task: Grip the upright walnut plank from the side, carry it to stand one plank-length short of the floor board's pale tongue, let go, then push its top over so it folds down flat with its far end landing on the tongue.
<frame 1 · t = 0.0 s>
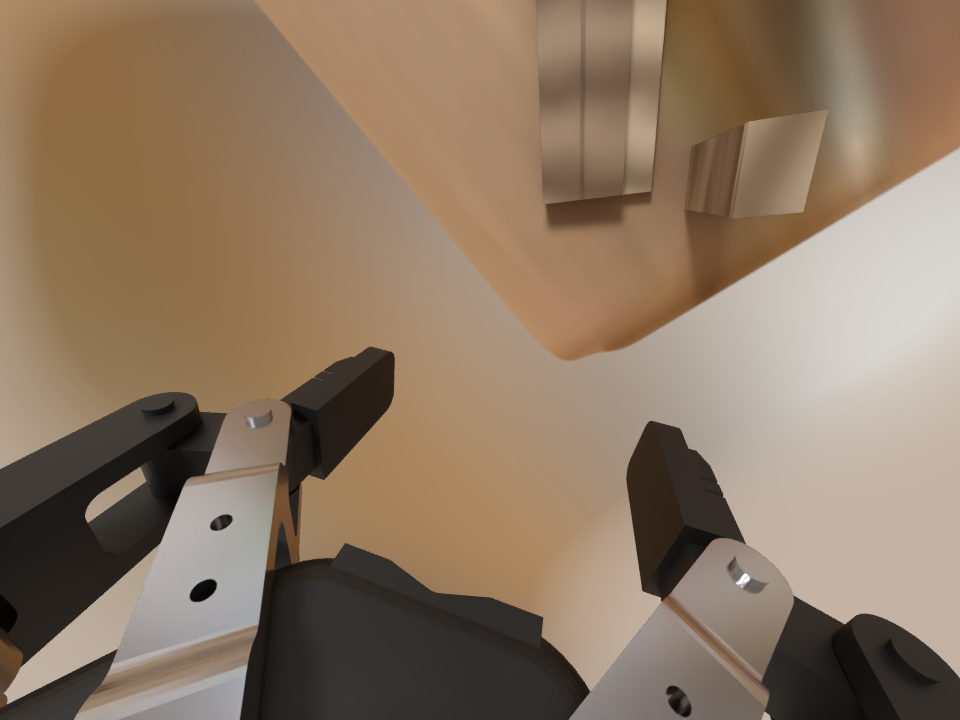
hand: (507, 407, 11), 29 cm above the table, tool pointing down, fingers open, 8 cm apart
floor board: (582, 85, 30), on the table
plank: (710, 176, 30), on the table
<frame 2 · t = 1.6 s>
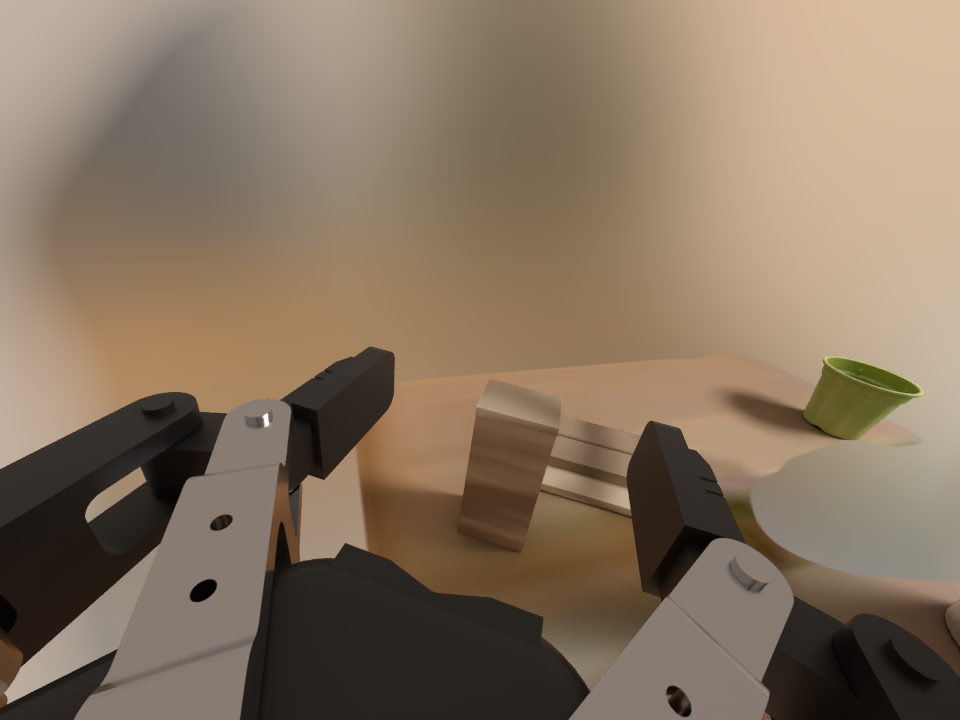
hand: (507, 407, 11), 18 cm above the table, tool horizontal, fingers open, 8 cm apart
floor board: (594, 460, 36), on the table
plant pot: (828, 427, 48), on the table
plank: (493, 522, 28), on the table
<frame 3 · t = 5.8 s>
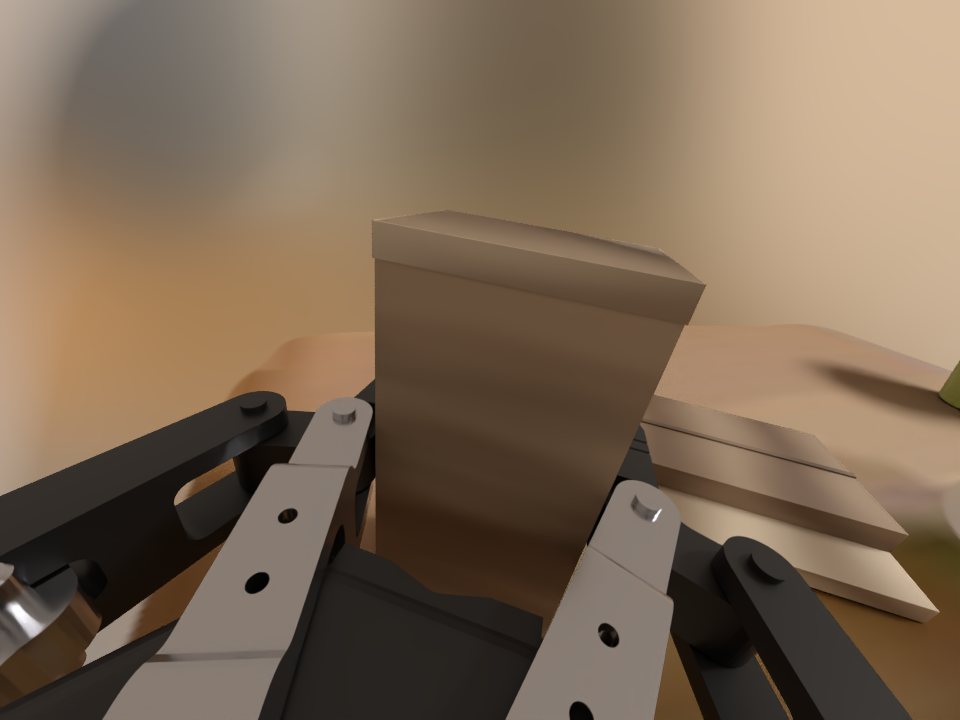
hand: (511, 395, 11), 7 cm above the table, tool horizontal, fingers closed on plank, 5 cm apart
floor board: (656, 454, 20), on the table
plank: (465, 587, 12), on the table, touching gripper
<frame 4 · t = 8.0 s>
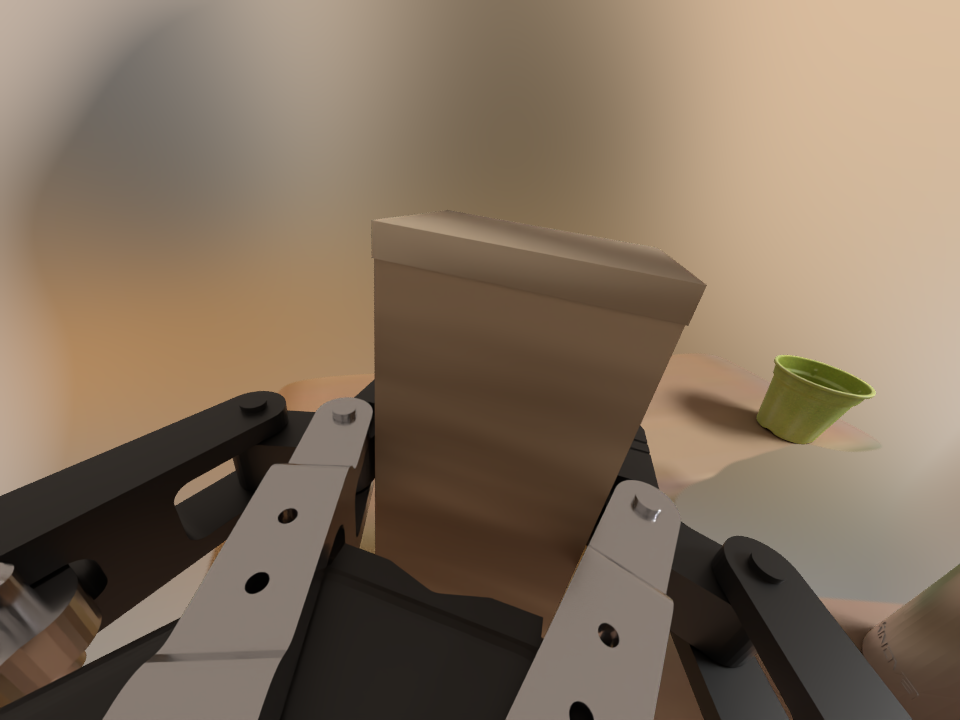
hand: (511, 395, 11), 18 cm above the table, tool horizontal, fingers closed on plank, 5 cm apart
plant pot: (781, 430, 45), on the table
plank: (465, 587, 12), point 11 cm above the table, touching gripper
when the fingers open (7 cm above the table, at t = 10.2 s): plank stays where it is, on the table.
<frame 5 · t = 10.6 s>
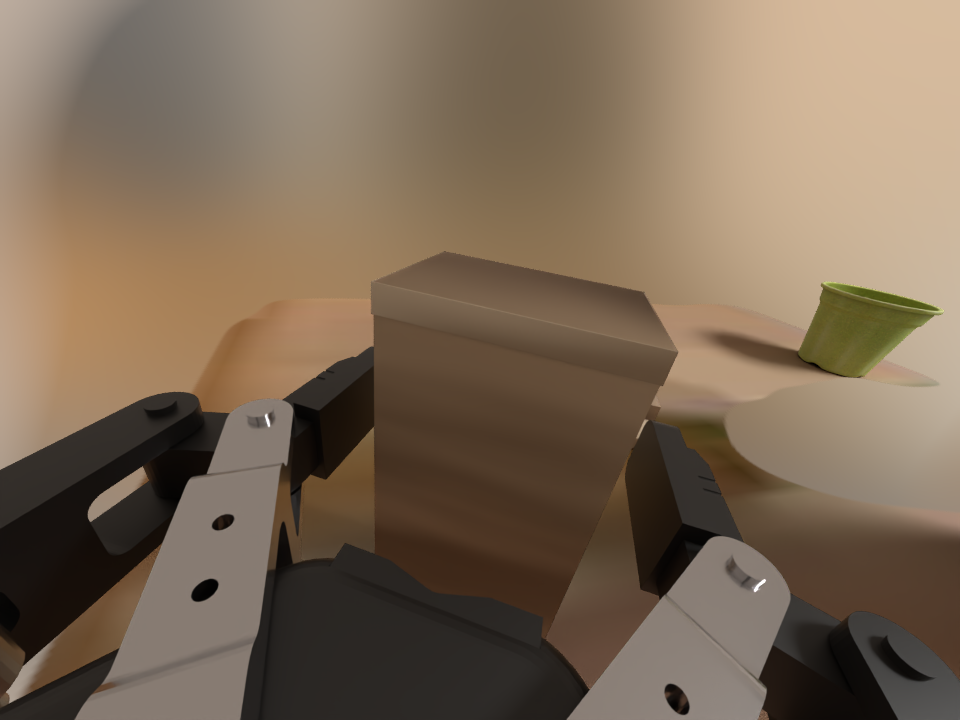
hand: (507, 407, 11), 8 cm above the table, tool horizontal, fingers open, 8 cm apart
plant pot: (827, 367, 41), on the table
plank: (462, 604, 13), on the table
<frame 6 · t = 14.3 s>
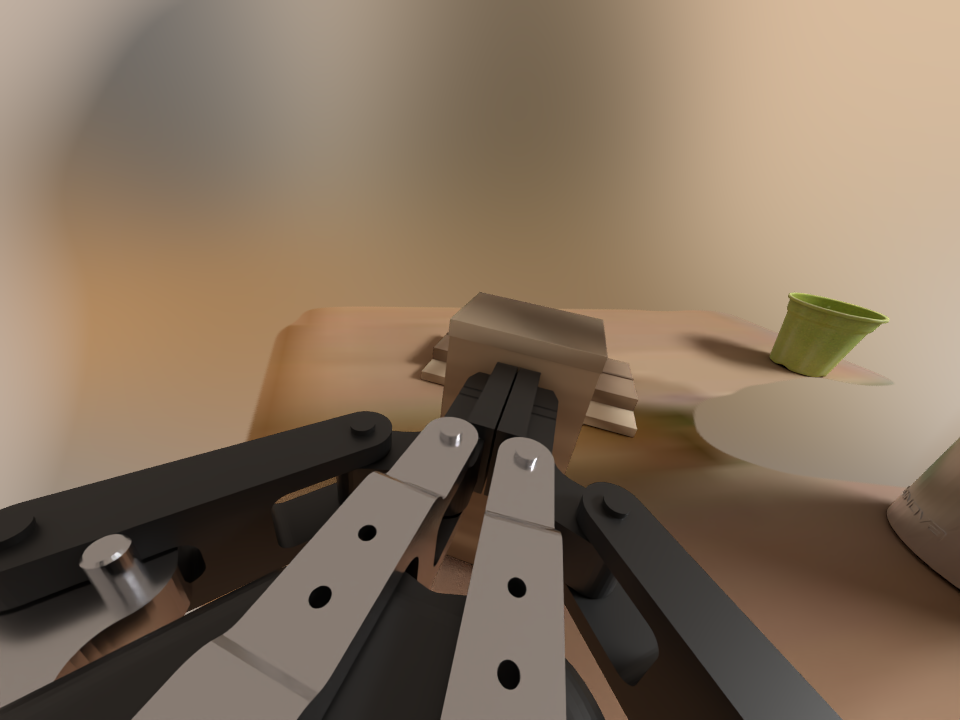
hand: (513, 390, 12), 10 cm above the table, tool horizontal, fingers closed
floor board: (531, 373, 34), on the table
plant pot: (795, 368, 46), on the table
plank: (484, 533, 18), on the table, touching gripper
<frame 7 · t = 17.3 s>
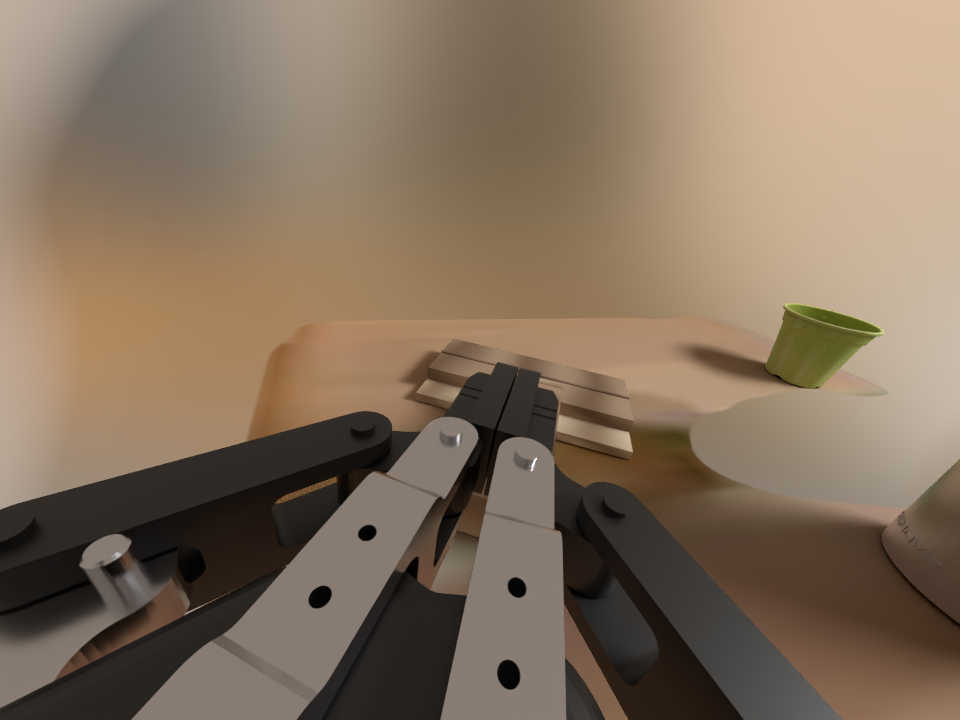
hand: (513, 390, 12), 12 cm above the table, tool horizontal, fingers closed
floor board: (526, 391, 34), on the table
plant pot: (790, 378, 46), on the table
plank: (491, 522, 18), point 2 cm above the table, tilted 86°, touching floor board
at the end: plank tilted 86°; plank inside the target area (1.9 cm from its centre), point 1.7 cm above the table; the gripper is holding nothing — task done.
